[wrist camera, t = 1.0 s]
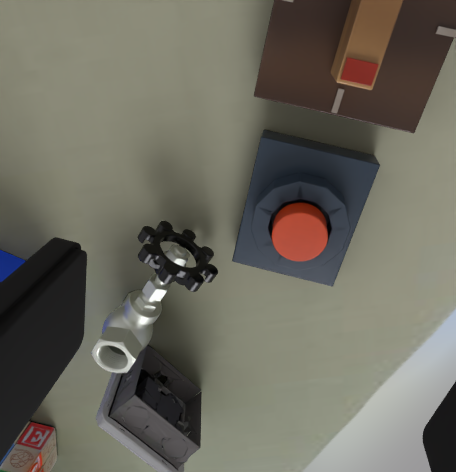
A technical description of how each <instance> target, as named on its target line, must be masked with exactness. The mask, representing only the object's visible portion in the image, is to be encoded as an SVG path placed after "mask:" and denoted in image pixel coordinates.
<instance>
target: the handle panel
mask: <svg viewBox="0 0 456 472" xmlns="http://www.w3.org/2000/svg"><path fill="white" fill-rule="evenodd" d="M351 1H352V0H274V4H273V8H272V13H271V18H270V22H269V27H268V32H267V36H266V41H265V46H264V50H263V55H262V60H261V64H260V69H259V74H258V78H257V83H256V88H255V92H254V96H255V97H259V98H263V99H267V100H272V101H276V102H280V103H285V104H289V105H293V106H298V107H302V108H306V109H311V110H315V111H319V112H324V113H328V114H332V115H337V116H341V117H345V118H350V119H354V120H358V121H363V122H367V123H371V124H376V125H380V126H384V127H389V128H393V129H397V130H402V131H406V132H410V133H414V132H415V130H416V127H417V125H418V123H419V120H420V118H421V115H422V113H423V111H424V108H425V106H426V103H427V101H428V99H429V96H430V94H431V91H432V89H433V87H434V84H435V82H436V79H437V77H438V75H439V72H440V70H441V67H442V65H443V63H444V60H445V58H446V55H447V53H448V51H449V48H450V46H451V43H452V41H453V39H454V38H456V0H403V3H402V6H401V8H400V11H399V14H398V17H397V20H396V23H395V26H394V29H393V31H392V34H391V37H390V40H389V43H388V46H387V49H386V52H385V54H384V57H383V60H382V63H381V66H380V69H379V72H378V75H377V77H376V80H375V83H374V86H373V89H372V90H367V89H363V88H358V87H354V86H350V85H345V84H341V83H337V82H336V81H335V79H334V77H333V76H332V74H331V69H332V65H333V62H334V59H335V55H336V52H337V48H338V45H339V42H340V38H341V35H342V31H343V28H344V25H345V21H346V18H347V14H348V11H349V8H350V4H351Z"/></svg>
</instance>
